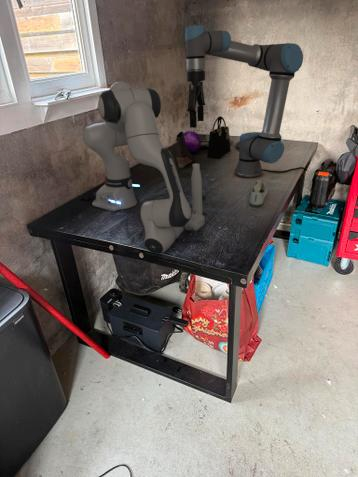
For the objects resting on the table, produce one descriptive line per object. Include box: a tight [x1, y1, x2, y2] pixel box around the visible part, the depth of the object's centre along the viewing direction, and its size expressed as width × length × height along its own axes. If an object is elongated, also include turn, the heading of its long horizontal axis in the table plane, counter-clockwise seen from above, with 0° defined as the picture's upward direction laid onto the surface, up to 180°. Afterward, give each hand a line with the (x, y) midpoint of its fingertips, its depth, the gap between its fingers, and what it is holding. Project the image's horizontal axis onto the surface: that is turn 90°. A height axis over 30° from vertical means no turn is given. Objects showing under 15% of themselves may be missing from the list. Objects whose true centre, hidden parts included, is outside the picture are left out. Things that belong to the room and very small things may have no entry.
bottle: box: [190, 162, 203, 215], centre depth 143 cm, size 4×4×23 cm
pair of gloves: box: [199, 134, 234, 149], centre depth 251 cm, size 30×26×5 cm
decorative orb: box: [183, 130, 201, 154], centre depth 230 cm, size 15×15×15 cm
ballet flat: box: [249, 179, 269, 207], centre depth 158 cm, size 8×24×8 cm, turn 163°
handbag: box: [206, 115, 231, 159], centre depth 220 cm, size 21×9×25 cm, turn 148°
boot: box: [175, 131, 194, 169], centre depth 209 cm, size 9×24×20 cm, turn 168°
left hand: (186, 210), depth 135 cm, fingers open, 8 cm apart
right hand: (197, 124), depth 145 cm, fingers open, 13 cm apart
